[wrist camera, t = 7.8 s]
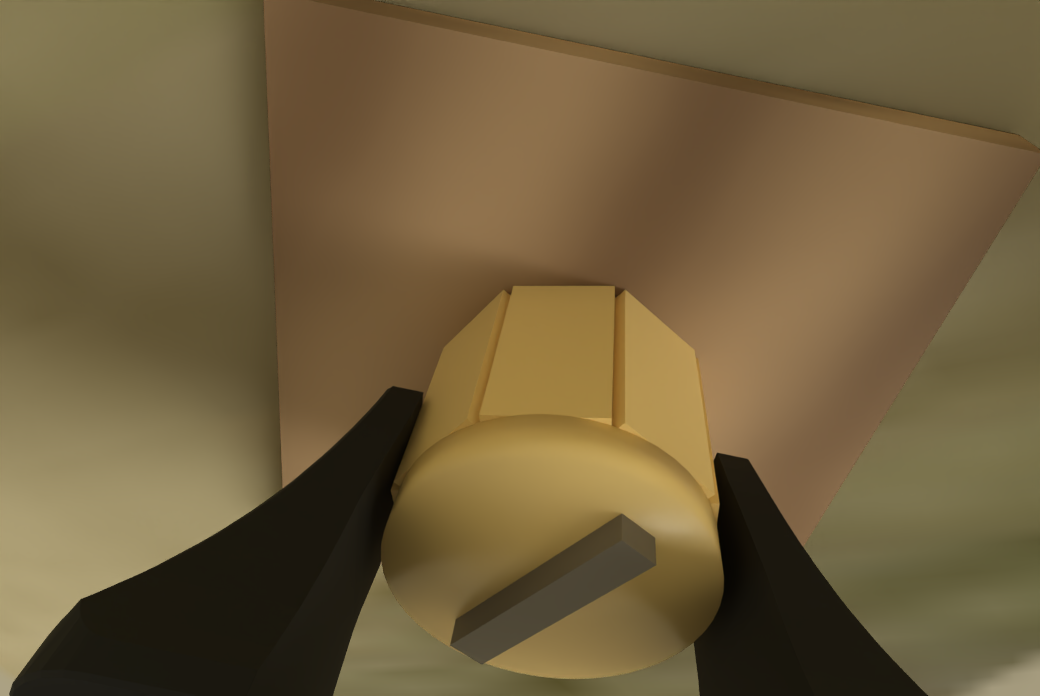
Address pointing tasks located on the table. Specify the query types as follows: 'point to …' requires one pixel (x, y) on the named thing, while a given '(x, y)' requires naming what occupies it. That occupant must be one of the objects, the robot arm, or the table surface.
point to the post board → (611, 224)
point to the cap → (560, 490)
